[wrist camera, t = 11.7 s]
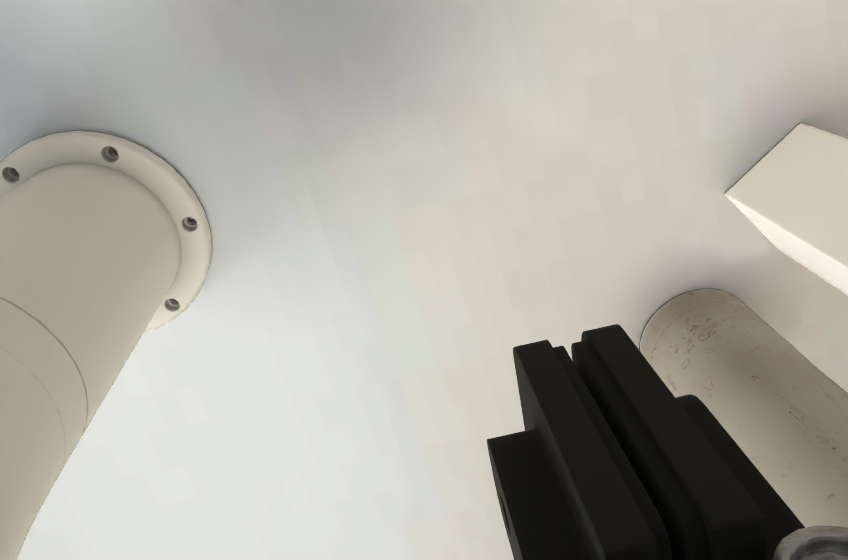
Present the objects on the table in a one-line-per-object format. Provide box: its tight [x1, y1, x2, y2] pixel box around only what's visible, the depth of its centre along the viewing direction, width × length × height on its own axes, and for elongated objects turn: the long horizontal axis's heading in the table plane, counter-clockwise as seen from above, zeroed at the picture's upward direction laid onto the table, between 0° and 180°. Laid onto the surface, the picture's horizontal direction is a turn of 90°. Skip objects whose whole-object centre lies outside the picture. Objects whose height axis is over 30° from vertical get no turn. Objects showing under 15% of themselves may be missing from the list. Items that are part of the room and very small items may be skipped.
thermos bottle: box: [640, 289, 848, 528], centre depth 33 cm, size 8×8×28 cm
